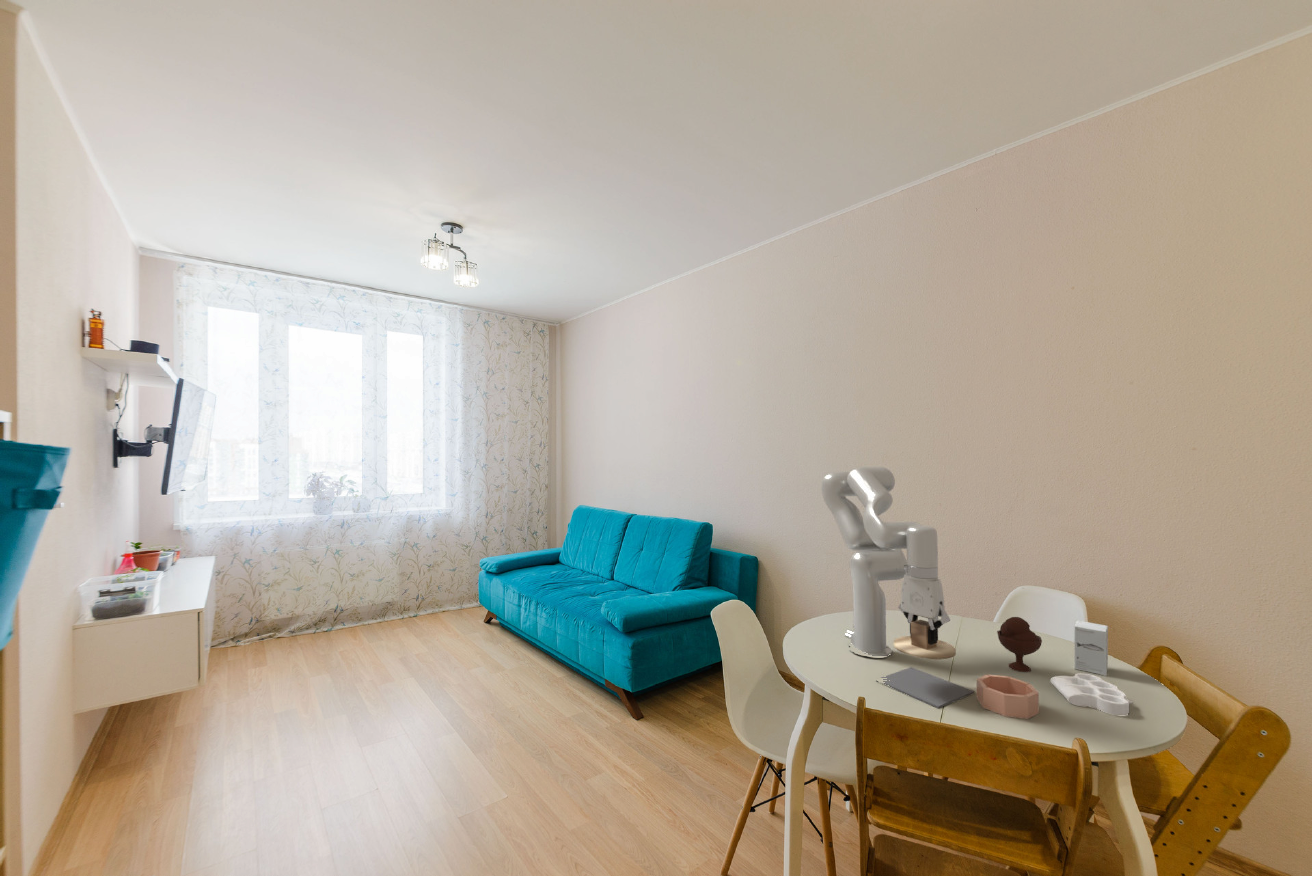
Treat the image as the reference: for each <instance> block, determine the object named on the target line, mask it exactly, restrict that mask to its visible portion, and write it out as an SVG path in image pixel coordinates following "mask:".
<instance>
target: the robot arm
mask: <svg viewBox="0 0 1312 876" xmlns="http://www.w3.org/2000/svg"><path fill="white" fill-rule="evenodd" d="M895 484H896V479H895V475H894V473H893V472H892V471H891V470H890V469H888V468H887V467H884V466H863V467H862V466H861V467H856V468H853V469H852V470H850V471H836V472H834V471H833V472H830V473H828V474H826V475H825V476H824V477H823V478H822V480H821V488H820V489H821V495H822V498H823V500H824V501H823V502H824V504H825V505H826V506H827V508H828V510H829V511H830V512H831V514H832V515H833V518H834V519H835V522H836V525H837V528H838V530H839V532H840V534H841V536H842V540H843V541H844V544H845V546H846V547H847V548H848V549H849V550H850V551H856V552H854V553H853V554H852V555H851V556H850V558H849V570H850V575H851V581H852V597H853V598H852V599H853V600H852V601H853V607H852V608H853V630H851V629H848V630H847V631H846V632H845V634H844V637H845V638H846V639H847V638H848V639H850V643H851V644H853V645H854V647H855V648H857V649H858V650H861V651H862V652H866V653H868V655H872V656H888V655H889V654H891V653H893V652H892V651H893V650H892V649H891V647H889V646H888V645H887V618H886V617H887V613H886V612H887V611H886V610H887V607H886V604H887V603H886V600H887V599H886V594H885V591H884V590H883V589H882V587H881V586H880V584H879V582H887V581H898V580H902V585H901V596H900V603H899V605H898V609H899V611H901V613H902V614H903V615H904V617H905V618H906V619H907V620H906V621H907V623H908V624H909V634H910V635H909V636H910V637H911V622H914V621H917V620H919V617H921V618H925V619H927V622H929V626H930V629H928V644H930V645H932V644H935V643H937V641H938V640H939V629H940V628H941V627H942V626H943V625H945V624H947V623H948V622H950V621H951V618H950V616H949V615H948V613H947V611H946V609H945V597H944V596H945V595H944V591H943V584H942V581H941V579H940V578H939V562H938V561H939V557H938V550H939V549H938V548H939V547H938V530H936V528H934V527H933V526H930V525H923V524H921V523H919V522H916V521H887V522H884V520H882V518H881V517H880V516H881V515H882V514H884V513H886V512H887V511H888V510H889V509H890V508H891V506H892V504H893V496H892V494H891V493H890V492H892V490H893V489H894V488H895ZM847 497H857V499H858V500H859V501H860V503H861V504H862V505H863V507H864V509H863V515H862V513H861V511H860V509H859V508H858V506H857V505H856V504H855V503H854V502H853V501H851V500H849V499H848V498H847ZM904 549H905V550H906V556H905V554H904V551H903V550H904ZM939 617H940V619H939ZM866 653H864V654H866ZM891 655H892V654H891Z"/></svg>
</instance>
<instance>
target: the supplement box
mask: <svg viewBox="0 0 1312 876" xmlns="http://www.w3.org/2000/svg"><path fill="white" fill-rule="evenodd" d="M1108 632H1109V626H1108V625H1105V624H1099V623H1094V622H1089V621H1088V622H1087V621H1082V620H1076V621H1075V624H1074V633H1073V634H1074V636H1073V637H1074V670H1077V671H1078V670H1080V671H1083V672H1088V673H1093V674H1096V675H1100V676H1105V677H1106V676H1108V675H1107V673H1108V667H1109V665H1108V663H1109V662H1108V661H1109V660H1108V659H1109V633H1108Z"/></svg>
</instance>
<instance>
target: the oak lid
mask: <svg viewBox="0 0 1312 876" xmlns="http://www.w3.org/2000/svg"><path fill="white" fill-rule="evenodd" d="M928 629H930V626H929V622H928V620H924V619H918V620H917V621H914V622H911V637H910V635H909V636H905V635H904V636H900V637H897V638H895V639H894V640H893V642H892V643H893V644H892V645H893V647H894V648H895V650H897V651H899V652H901V653H903V654H905V655H908V656H911V657H916V658H919V659H926V660H927V659H928V660H947V659H952V658H953V657H955V656H956V655H957V653H956V651H957V650H956V648H955V647H954V646H953V644H951V643H948V642H947V641H946V642H945V641H943V640H940V639H938V641H937V643H935V644H932V645H930V644H928Z"/></svg>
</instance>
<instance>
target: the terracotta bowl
mask: <svg viewBox="0 0 1312 876" xmlns="http://www.w3.org/2000/svg"><path fill="white" fill-rule="evenodd" d="M976 699H977V701H978V702H979V704H980V705H981V706H982V707H983V709H986V710H989V711H990V712H993V713H996V714H999V715H1000V716H1001V715H1002V716H1003V717H1009V718H1010V717H1011V718H1019V719H1030V718H1033V717H1035V716H1036V715H1039V714H1040V695H1039V691H1038V690H1037V689H1036V688H1035V687H1034V686H1033V685H1032V684H1031V683H1029V682H1027V681H1024V680H1020V679H1017V678H1014V677H1011V676H1006V675H997V674H996V675H995V674H985V675H983V676H980V677H978V678H976Z"/></svg>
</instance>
